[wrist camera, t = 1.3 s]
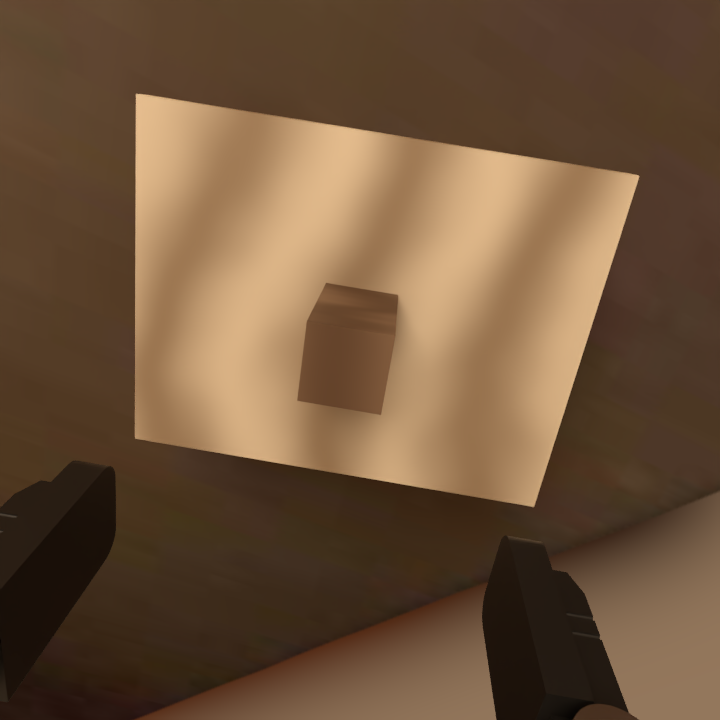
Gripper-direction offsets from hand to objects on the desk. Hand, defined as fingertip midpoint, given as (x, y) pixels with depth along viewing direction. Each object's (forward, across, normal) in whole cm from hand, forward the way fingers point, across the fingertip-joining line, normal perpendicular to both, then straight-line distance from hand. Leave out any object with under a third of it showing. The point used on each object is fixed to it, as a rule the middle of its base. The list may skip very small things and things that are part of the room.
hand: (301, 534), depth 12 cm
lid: (+15, 0, 0) cm, 15 cm away
